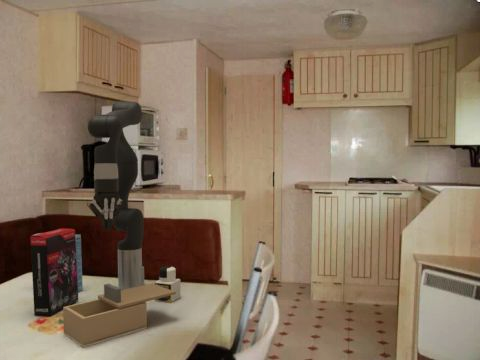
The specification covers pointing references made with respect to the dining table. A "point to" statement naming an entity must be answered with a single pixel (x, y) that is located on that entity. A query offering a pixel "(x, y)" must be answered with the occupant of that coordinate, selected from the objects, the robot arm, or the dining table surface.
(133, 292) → the lid
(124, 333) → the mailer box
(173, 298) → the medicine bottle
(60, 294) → the graphics card box
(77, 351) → the dining table surface
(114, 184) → the robot arm
